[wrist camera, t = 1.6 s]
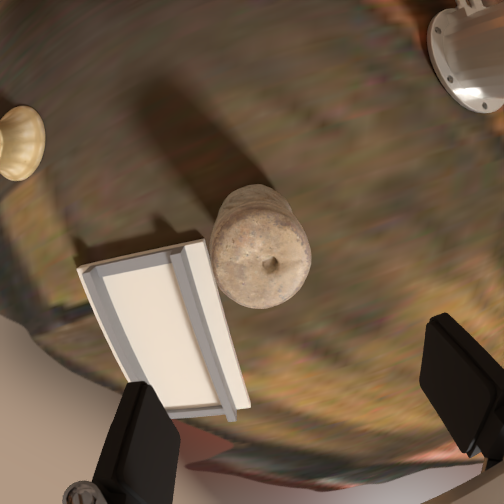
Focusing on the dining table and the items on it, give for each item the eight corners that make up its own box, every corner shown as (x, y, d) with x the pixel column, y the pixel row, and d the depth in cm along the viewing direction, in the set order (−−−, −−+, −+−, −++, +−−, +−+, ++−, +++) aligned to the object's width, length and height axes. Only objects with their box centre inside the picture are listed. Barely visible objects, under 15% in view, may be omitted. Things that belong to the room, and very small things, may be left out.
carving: (273, 166, 28) (295, 185, 16) (300, 241, 30) (333, 303, 19) (207, 192, 28) (184, 227, 17) (237, 264, 31) (236, 337, 19)
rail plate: (80, 265, 30) (67, 276, 27) (204, 238, 30) (200, 249, 27) (149, 411, 37) (145, 427, 35) (250, 402, 37) (251, 419, 34)
